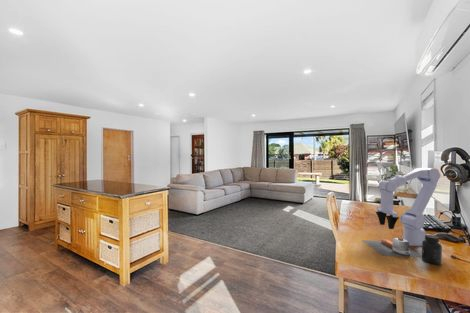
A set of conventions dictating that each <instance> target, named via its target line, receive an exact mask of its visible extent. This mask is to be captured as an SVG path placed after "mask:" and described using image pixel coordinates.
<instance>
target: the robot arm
mask: <svg viewBox="0 0 470 313" xmlns="http://www.w3.org/2000/svg"><path fill="white" fill-rule="evenodd" d="M440 177H441V173H440V170H439V169H437V168H435V167H417V168H414V169H413V170H411V171H410V172H408V173H405V174H404V175H398V174H396V175H394V177H392V178H387V179H386V180H382V181H379V183H378V185H377V187H378V189H379V192H380V206H379V207H378V206H377V208H376V211H375V214H376V216H377V218H378V222H379V225H381V226H384V225H385V223H386V220H387V225H388V229H389V230H394V228H395V225H396V223H397V222H398V220H399V221H400V222H401V225H402V226H403V238H402V239H404V240H406V241H408V242H409V246H413V247H414V246H416V247H418V246H419V247H422V241H424V240H425V235H427V233H426V231H425V229H424V225H425V220H426V216H424V214H423V213H424V211H425V209H426V207H427V206H428V204H429V202H430V200H431V198H432V196H433V194H434V192H435V191H436V188H437V186H438V182H439V179H440ZM414 179H417V180H418V181H419V182H420V184H422V186H421V187H420V190H419V191H418V194H417V196H416V198H415V199H414V202H413V203H412V205H411V207H410V209H407V210H405V211H404V213H403V214H401V215H400V218H399V216H398V214H399V213H397V212H396V211H394V192H395V191H396V190H397V189H398V188H400V187H402V186H404V185H406V184H407V182H408V181H411V180H414Z"/></svg>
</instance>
